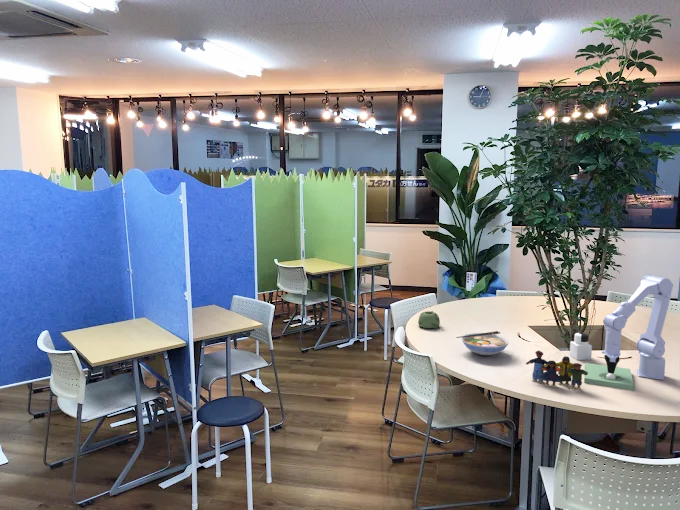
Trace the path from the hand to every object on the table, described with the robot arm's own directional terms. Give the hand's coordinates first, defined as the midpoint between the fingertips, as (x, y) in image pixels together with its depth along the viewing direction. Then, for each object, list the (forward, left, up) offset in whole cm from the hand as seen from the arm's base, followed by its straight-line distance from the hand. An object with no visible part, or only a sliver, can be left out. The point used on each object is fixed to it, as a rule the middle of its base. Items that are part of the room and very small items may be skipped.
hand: (610, 372), depth 209 cm
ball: (0, +3, -1) cm, 3 cm away
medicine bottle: (+12, -24, -3) cm, 27 cm away
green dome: (+94, -46, -3) cm, 105 cm away
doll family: (+21, +16, -3) cm, 26 cm away
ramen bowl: (+55, -10, -3) cm, 56 cm away
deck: (+1, -1, -3) cm, 3 cm away
